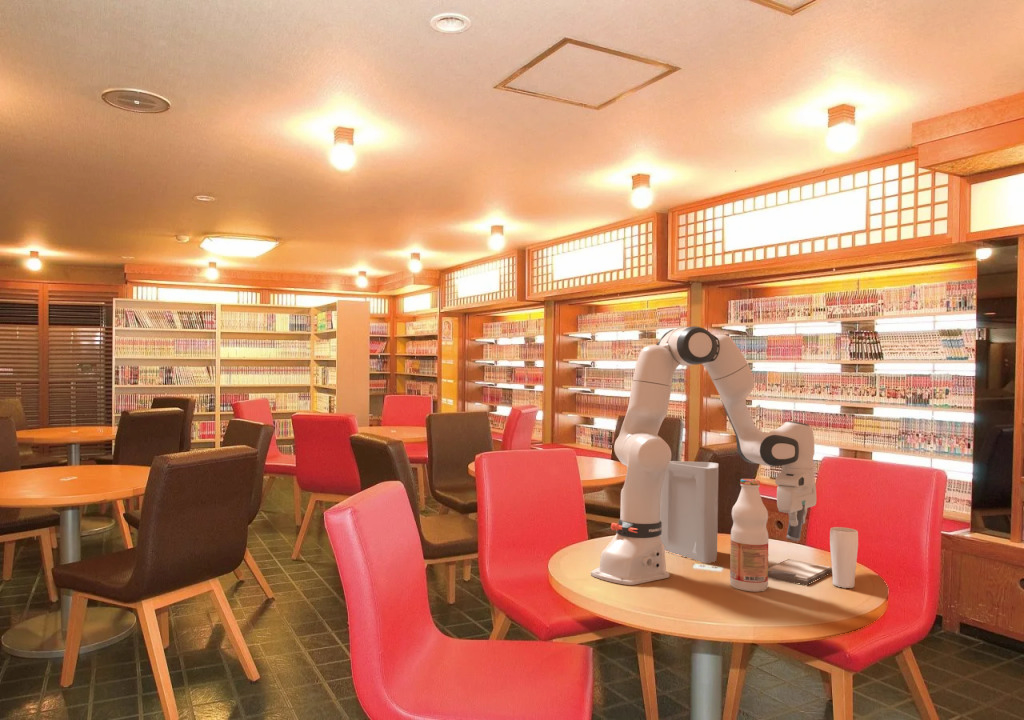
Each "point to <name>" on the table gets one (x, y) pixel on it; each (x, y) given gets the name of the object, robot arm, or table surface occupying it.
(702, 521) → the gray plastic bin
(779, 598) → the table surface
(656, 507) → the robot arm
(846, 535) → the drinking glass
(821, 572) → the dark grey notebook
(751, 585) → the fruit juice
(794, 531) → the marker
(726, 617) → the table surface
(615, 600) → the table surface
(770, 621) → the table surface
